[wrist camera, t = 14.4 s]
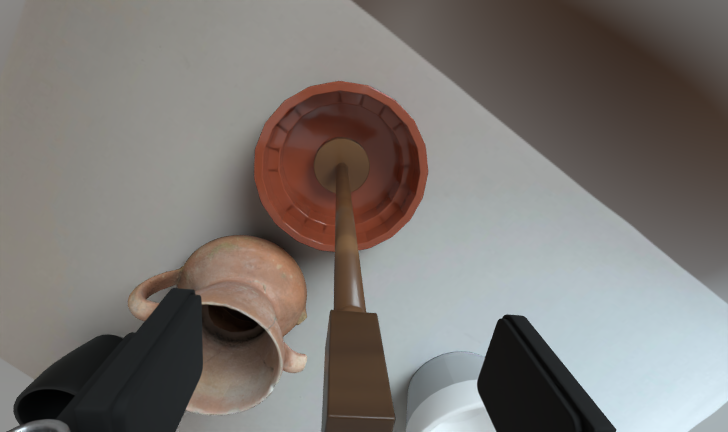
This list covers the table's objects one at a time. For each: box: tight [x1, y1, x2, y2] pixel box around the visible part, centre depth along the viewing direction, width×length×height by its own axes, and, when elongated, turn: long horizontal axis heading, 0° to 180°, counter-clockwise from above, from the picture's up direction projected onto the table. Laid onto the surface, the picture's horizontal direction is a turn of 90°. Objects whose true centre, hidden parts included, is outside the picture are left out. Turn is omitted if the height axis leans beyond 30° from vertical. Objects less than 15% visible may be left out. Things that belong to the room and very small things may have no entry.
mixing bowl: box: [254, 81, 428, 252], centre depth 36 cm, size 17×17×6 cm
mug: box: [14, 335, 123, 425], centre depth 41 cm, size 8×12×10 cm
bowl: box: [406, 352, 496, 432], centre depth 47 cm, size 19×19×11 cm
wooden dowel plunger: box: [314, 137, 395, 432], centre depth 23 cm, size 6×6×32 cm
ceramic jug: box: [128, 235, 307, 415], centre depth 36 cm, size 18×14×14 cm
